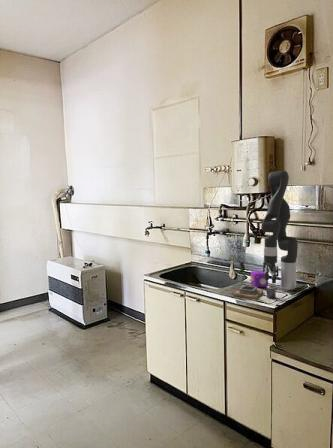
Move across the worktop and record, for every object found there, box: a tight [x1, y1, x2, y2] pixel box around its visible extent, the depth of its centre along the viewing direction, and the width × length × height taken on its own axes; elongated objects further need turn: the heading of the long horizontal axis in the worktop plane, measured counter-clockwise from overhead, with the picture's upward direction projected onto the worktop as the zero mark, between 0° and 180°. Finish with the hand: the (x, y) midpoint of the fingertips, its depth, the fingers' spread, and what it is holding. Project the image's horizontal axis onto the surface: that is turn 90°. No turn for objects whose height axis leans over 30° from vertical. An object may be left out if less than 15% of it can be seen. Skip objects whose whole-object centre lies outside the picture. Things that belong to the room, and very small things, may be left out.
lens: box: [266, 284, 277, 300], centre depth 203 cm, size 5×5×7 cm
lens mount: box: [232, 284, 264, 300], centre depth 211 cm, size 14×14×4 cm
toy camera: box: [250, 269, 269, 288], centre depth 227 cm, size 11×14×10 cm
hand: (270, 281), depth 202 cm, fingers open, 8 cm apart
